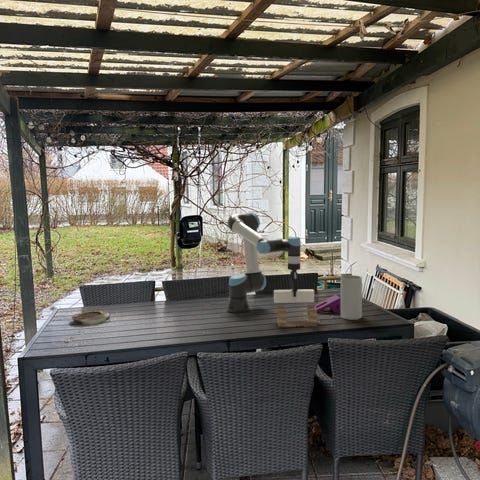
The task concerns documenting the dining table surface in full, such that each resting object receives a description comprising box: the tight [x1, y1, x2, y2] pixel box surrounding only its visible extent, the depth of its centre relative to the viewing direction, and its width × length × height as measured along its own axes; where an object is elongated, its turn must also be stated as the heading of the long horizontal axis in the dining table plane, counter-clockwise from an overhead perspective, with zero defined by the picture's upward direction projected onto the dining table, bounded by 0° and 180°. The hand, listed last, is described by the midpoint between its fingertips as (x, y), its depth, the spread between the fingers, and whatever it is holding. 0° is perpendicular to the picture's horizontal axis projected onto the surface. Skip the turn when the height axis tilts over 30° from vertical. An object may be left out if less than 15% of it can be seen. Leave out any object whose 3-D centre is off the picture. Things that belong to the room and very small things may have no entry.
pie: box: [71, 310, 111, 328], centre depth 269 cm, size 28×27×5 cm
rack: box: [276, 304, 318, 328], centre depth 250 cm, size 10×22×10 cm, turn 91°
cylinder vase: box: [340, 274, 363, 321], centre depth 260 cm, size 12×12×25 cm
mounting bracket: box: [314, 294, 341, 314], centre depth 277 cm, size 10×8×18 cm
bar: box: [273, 288, 320, 304], centre depth 259 cm, size 4×27×7 cm, turn 91°
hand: (293, 300), depth 259 cm, fingers closed on bar, 4 cm apart
